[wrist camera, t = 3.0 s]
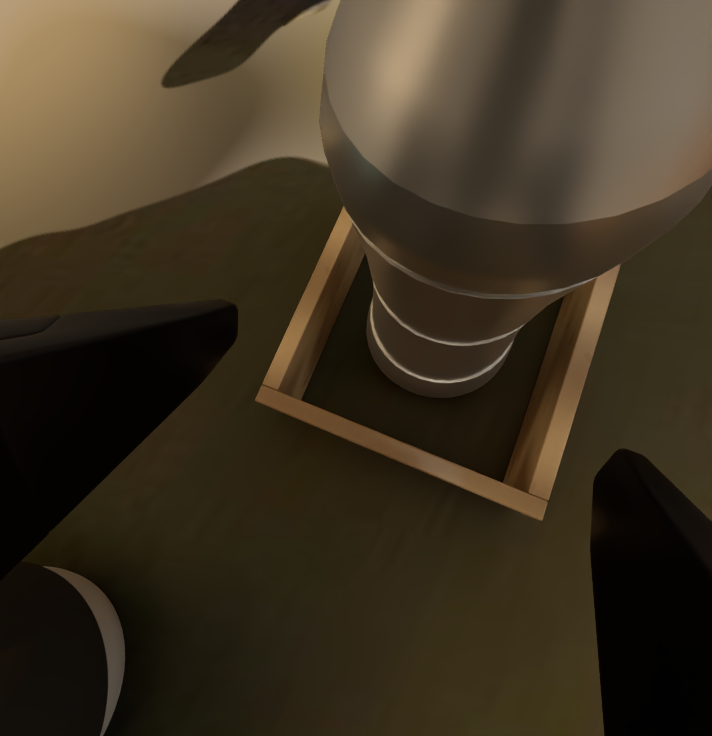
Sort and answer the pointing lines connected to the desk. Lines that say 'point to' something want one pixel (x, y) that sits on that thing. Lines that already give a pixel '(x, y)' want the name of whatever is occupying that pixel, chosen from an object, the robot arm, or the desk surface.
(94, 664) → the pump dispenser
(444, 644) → the desk surface
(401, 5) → the metal cup
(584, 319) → the square wooden frame
